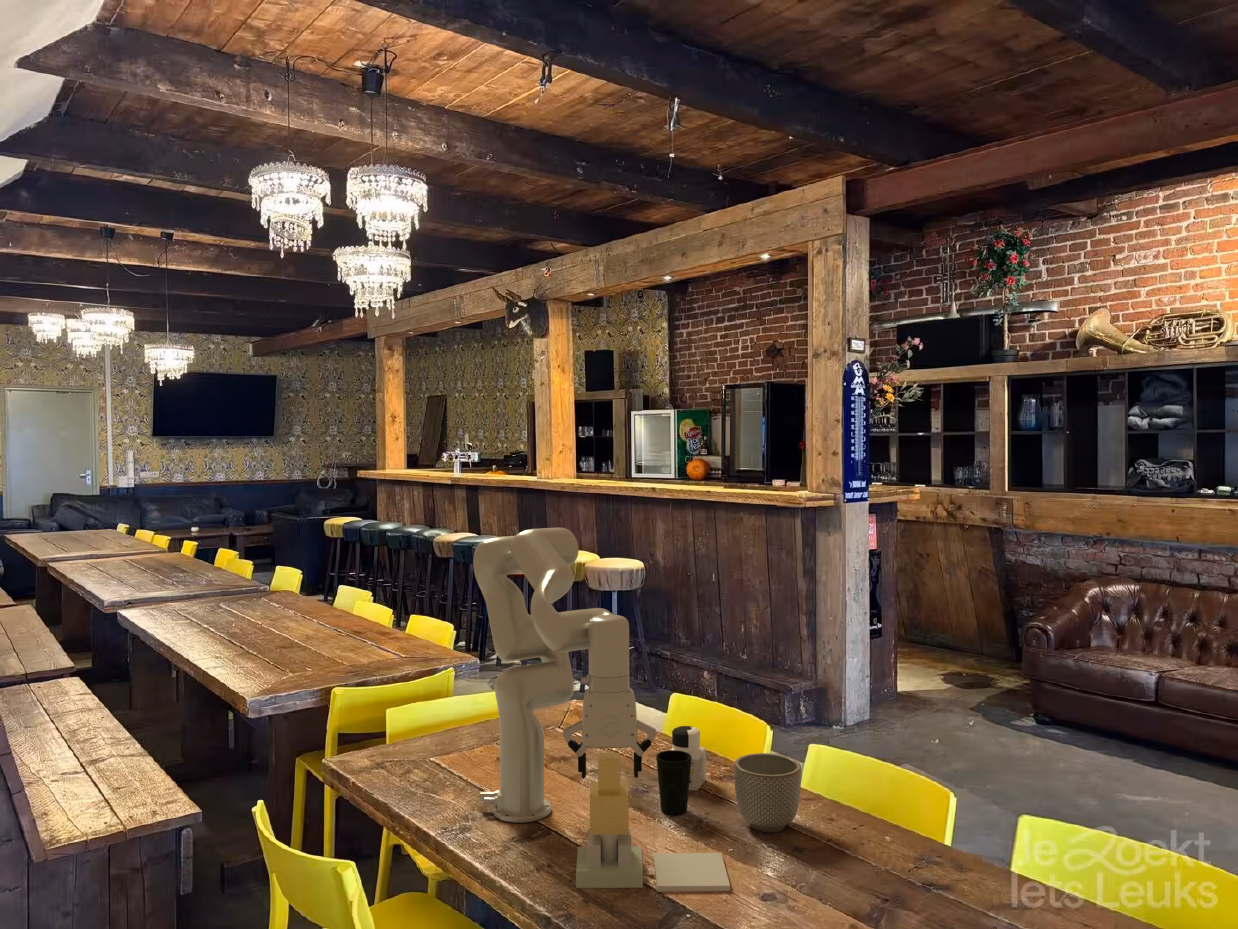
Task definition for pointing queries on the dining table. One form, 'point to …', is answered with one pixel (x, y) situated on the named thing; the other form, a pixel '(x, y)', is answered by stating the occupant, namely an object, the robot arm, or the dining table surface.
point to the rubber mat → (690, 872)
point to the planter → (767, 790)
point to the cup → (673, 781)
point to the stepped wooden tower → (609, 798)
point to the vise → (609, 863)
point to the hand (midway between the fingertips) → (609, 775)
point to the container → (691, 753)
